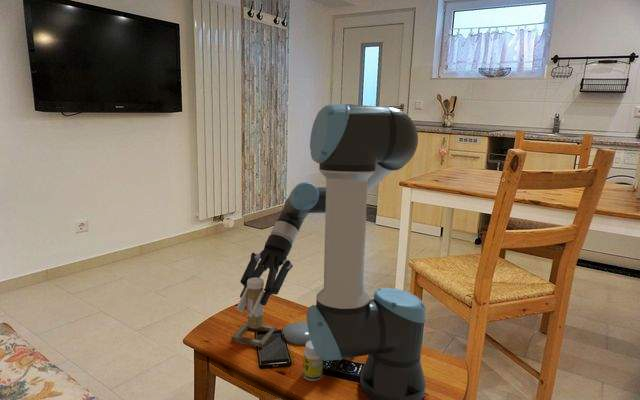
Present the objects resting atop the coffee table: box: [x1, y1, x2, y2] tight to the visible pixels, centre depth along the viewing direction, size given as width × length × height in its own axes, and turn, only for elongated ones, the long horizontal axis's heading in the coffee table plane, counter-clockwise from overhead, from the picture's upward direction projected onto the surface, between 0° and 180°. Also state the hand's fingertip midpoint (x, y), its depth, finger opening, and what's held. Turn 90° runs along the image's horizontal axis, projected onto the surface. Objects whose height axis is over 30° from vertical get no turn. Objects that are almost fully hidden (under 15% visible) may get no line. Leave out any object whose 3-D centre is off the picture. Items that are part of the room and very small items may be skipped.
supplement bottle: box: [302, 340, 324, 382], centre depth 101 cm, size 5×5×8 cm
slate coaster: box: [282, 321, 311, 346], centre depth 121 cm, size 11×11×1 cm
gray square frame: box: [231, 320, 278, 348], centre depth 118 cm, size 9×9×1 cm
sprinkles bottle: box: [246, 277, 265, 329], centre depth 116 cm, size 5×5×13 cm
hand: (246, 312), depth 113 cm, fingers closed on sprinkles bottle, 4 cm apart
